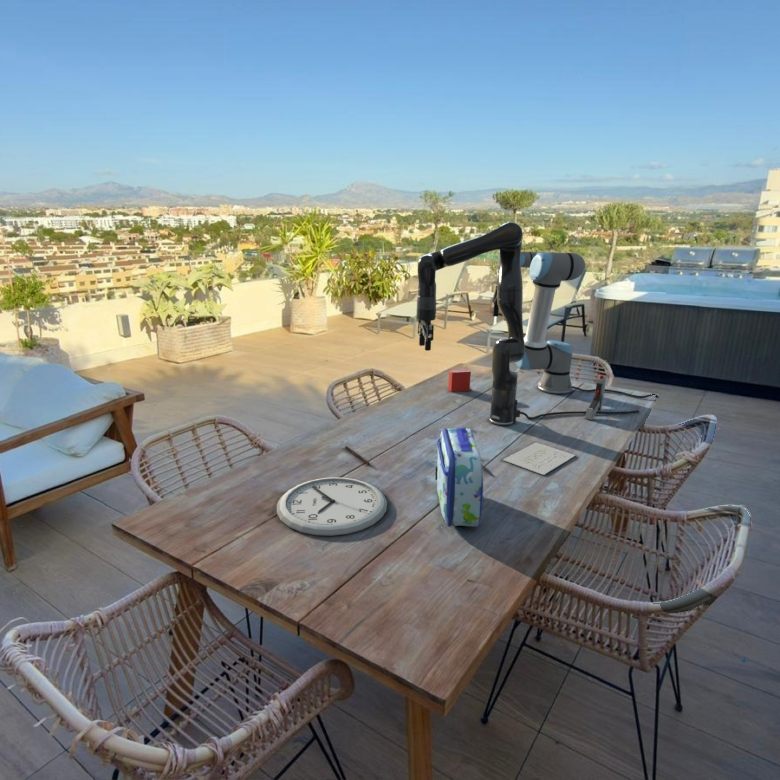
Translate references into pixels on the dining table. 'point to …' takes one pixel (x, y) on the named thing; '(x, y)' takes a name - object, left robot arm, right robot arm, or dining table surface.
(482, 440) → the dining table surface
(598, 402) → the toy gun
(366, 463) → the brown thin stick
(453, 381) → the brick
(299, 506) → the wall clock
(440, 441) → the lunch box
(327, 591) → the dining table surface
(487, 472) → the fork
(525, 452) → the invitation card
